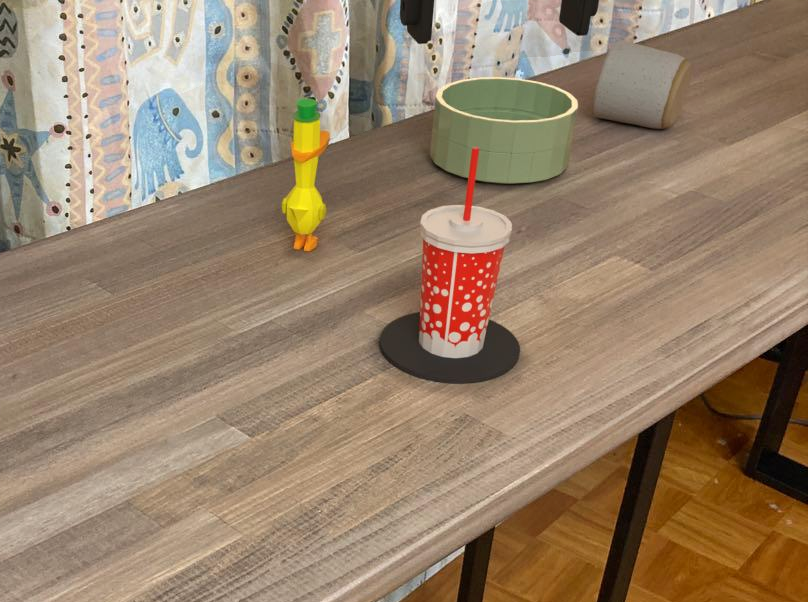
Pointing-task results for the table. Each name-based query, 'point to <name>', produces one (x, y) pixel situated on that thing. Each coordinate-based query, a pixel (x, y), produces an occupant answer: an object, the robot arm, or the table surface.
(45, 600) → the table surface
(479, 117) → the bowl
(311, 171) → the toy figure
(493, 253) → the beverage cup
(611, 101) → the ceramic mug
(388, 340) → the coaster
